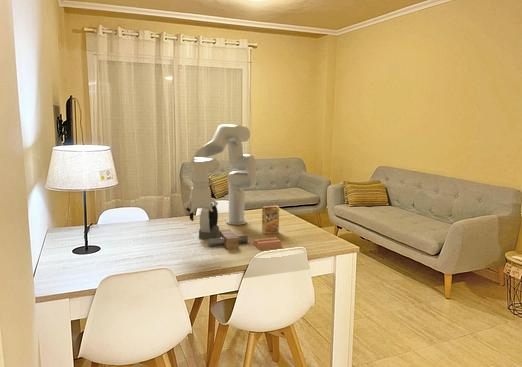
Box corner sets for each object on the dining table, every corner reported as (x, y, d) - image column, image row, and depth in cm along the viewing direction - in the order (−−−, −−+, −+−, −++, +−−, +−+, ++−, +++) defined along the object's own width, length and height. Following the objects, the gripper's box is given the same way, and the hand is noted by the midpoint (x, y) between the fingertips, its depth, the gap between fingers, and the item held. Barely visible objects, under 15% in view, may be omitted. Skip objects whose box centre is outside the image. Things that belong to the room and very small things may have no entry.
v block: (253, 244, 205) (253, 238, 205) (274, 242, 209) (275, 236, 209) (259, 250, 197) (259, 244, 196) (281, 247, 201) (281, 241, 200)
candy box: (263, 234, 223) (264, 207, 220) (261, 232, 227) (262, 205, 224) (278, 233, 225) (279, 206, 222) (276, 231, 229) (277, 204, 226)
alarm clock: (213, 240, 210) (213, 207, 207) (195, 239, 212) (194, 205, 209) (222, 232, 226) (222, 200, 222) (205, 230, 227) (205, 199, 224)
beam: (218, 239, 211) (218, 229, 210) (229, 238, 214) (229, 228, 213) (226, 249, 197) (226, 238, 196) (238, 248, 199) (238, 237, 198)
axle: (210, 247, 200) (210, 239, 199) (208, 245, 203) (208, 237, 203) (248, 243, 207) (247, 236, 206) (245, 241, 210) (245, 234, 210)
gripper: (216, 183, 201) (216, 216, 204) (181, 184, 195) (182, 219, 198) (219, 185, 194) (220, 220, 197) (184, 187, 188) (184, 223, 191)
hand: (201, 219), depth 198 cm, fingers open, 8 cm apart
